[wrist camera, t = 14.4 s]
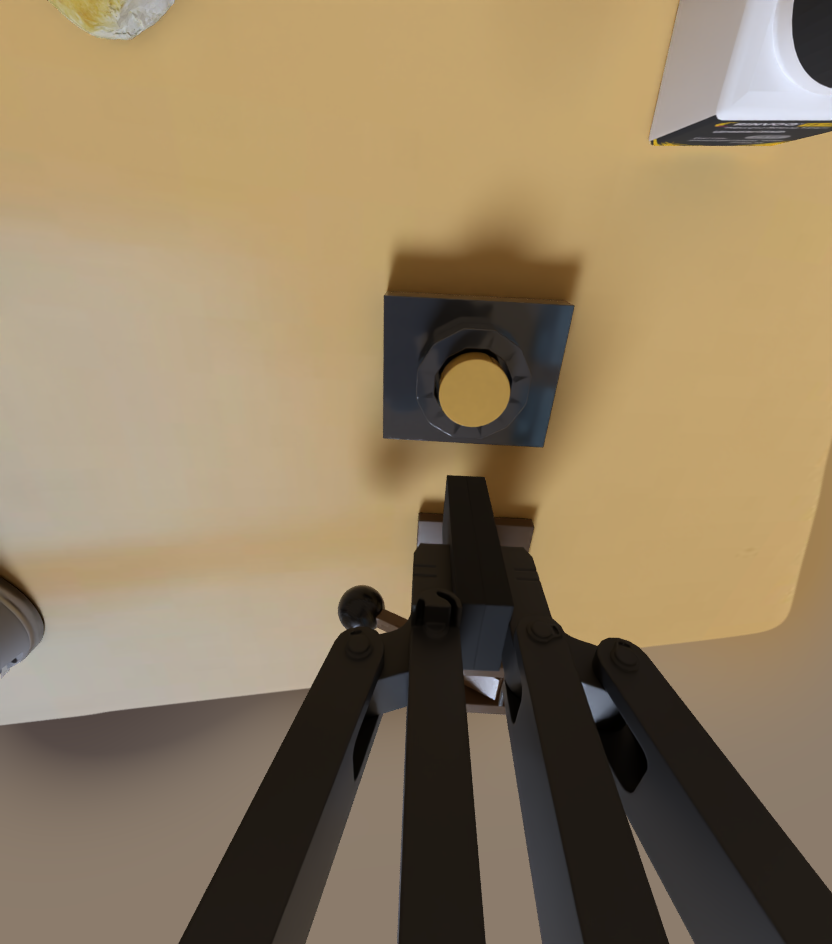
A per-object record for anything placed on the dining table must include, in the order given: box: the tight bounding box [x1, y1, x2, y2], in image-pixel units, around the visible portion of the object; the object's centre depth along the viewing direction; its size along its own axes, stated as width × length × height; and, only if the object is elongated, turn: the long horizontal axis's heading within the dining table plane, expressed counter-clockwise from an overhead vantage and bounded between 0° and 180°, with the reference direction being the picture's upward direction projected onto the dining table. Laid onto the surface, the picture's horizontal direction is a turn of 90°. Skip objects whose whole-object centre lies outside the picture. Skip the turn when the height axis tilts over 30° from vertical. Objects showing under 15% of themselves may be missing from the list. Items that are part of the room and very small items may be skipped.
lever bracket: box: [417, 513, 534, 715], centre depth 33 cm, size 10×8×14 cm
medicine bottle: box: [649, 0, 832, 146], centre depth 17 cm, size 7×7×12 cm
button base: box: [383, 291, 574, 447], centre depth 29 cm, size 12×10×4 cm
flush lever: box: [338, 585, 503, 700], centre depth 31 cm, size 13×4×4 cm, turn 87°
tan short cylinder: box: [439, 352, 510, 427], centre depth 27 cm, size 4×4×2 cm
